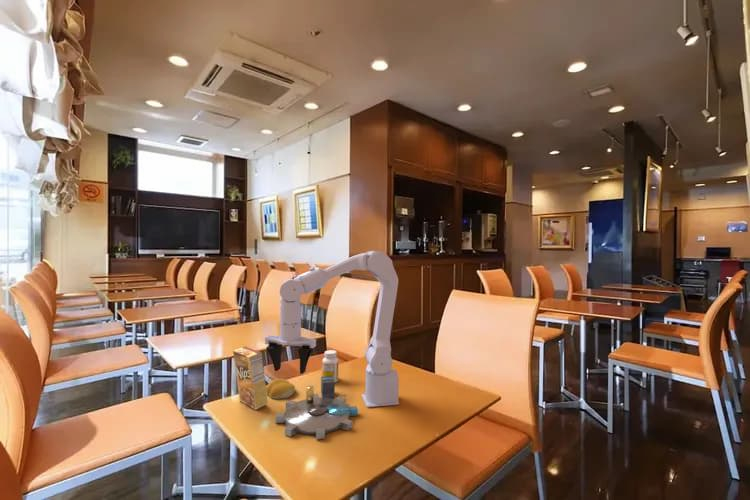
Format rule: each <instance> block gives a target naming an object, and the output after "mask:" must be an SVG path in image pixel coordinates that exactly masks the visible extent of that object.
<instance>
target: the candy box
mask: <svg viewBox="0 0 750 500" xmlns="http://www.w3.org/2000/svg"><path fill="white" fill-rule="evenodd" d="M232 353H233V359H234V366H235V367H234V368H235V374H236V381H237V391H238V398H239V401H240V402H241V403H243V404H244V405H246V406H248V407H249V408H252V409H253V410H255V411H258V409H261V408H262V407H264V406H266V405H268V404H269V401H268V394H267V393H266V387H267V384H266V378H265V368H264V361H263V359H264V358H263V353H262V351H259V350H256V349H253V348H251V347H248V346H242V347H239V348H236V349H235V350H233V351H232Z"/></svg>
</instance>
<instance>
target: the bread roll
mask: <svg viewBox="0 0 750 500" xmlns="http://www.w3.org/2000/svg"><path fill="white" fill-rule="evenodd" d="M295 390H296V388H295V385H294V384H293V383H291V382H290V381H288V380H287V379H284V378H275V379H273V380H272V381H270V382H269V383H268V384H266V393H267V396H269V397H270V398H271V399H273V400H280V399H288V398H289V397H292V395H294V393H295V392H296V391H295Z"/></svg>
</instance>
